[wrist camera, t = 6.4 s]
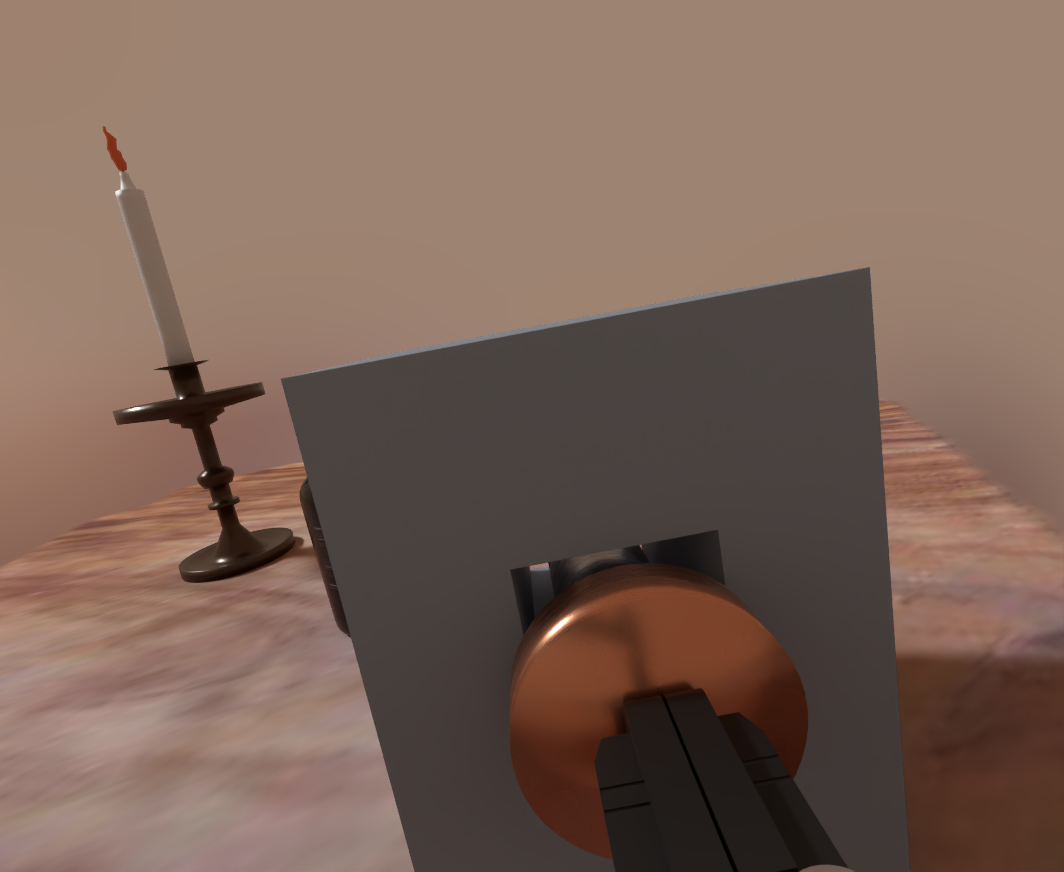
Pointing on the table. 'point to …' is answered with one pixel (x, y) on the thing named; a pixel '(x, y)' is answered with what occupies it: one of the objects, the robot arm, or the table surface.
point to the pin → (634, 676)
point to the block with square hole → (611, 535)
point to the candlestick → (191, 403)
